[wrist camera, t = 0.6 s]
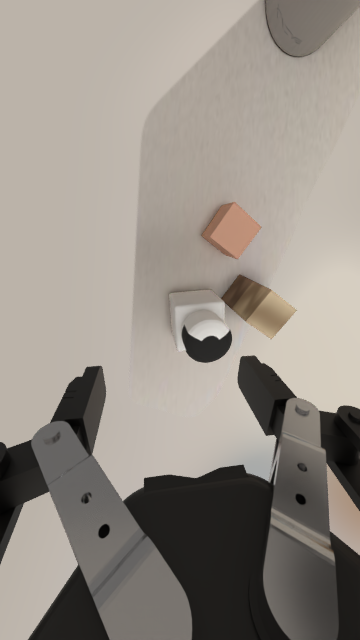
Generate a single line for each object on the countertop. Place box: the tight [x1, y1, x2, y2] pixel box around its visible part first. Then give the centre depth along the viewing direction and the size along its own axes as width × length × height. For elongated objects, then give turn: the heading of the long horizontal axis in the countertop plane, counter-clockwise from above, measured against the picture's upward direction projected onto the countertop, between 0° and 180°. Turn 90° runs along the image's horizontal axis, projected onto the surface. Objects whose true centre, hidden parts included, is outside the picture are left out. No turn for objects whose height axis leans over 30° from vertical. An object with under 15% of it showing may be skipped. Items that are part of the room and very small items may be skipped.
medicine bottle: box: [169, 289, 232, 363], centre depth 32 cm, size 7×7×12 cm
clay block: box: [201, 202, 261, 259], centre depth 31 cm, size 5×5×5 cm
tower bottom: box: [221, 275, 253, 309], centre depth 35 cm, size 5×5×5 cm
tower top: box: [232, 281, 297, 339], centre depth 31 cm, size 5×5×5 cm
